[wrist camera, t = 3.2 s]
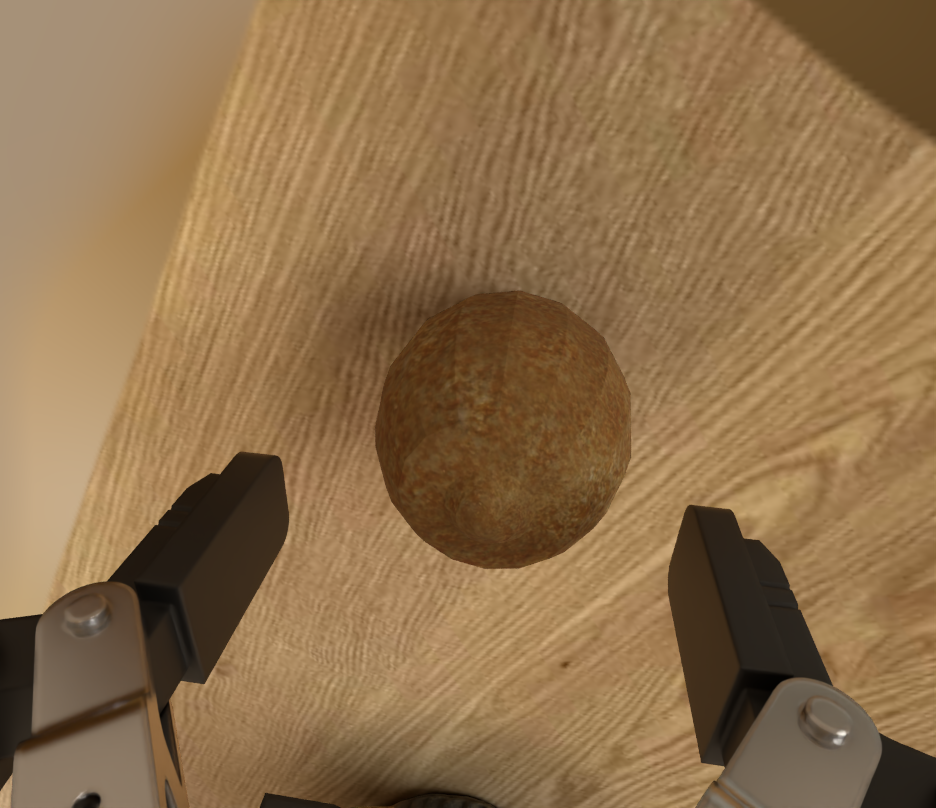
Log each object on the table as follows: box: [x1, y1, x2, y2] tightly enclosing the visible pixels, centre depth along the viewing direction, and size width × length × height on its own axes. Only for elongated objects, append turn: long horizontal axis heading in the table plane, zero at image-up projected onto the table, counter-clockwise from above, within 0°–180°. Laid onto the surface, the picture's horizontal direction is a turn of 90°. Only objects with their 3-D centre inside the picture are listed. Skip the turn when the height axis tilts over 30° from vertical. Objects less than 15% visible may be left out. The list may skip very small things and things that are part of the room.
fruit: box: [375, 291, 631, 569], centre depth 15 cm, size 6×6×8 cm
